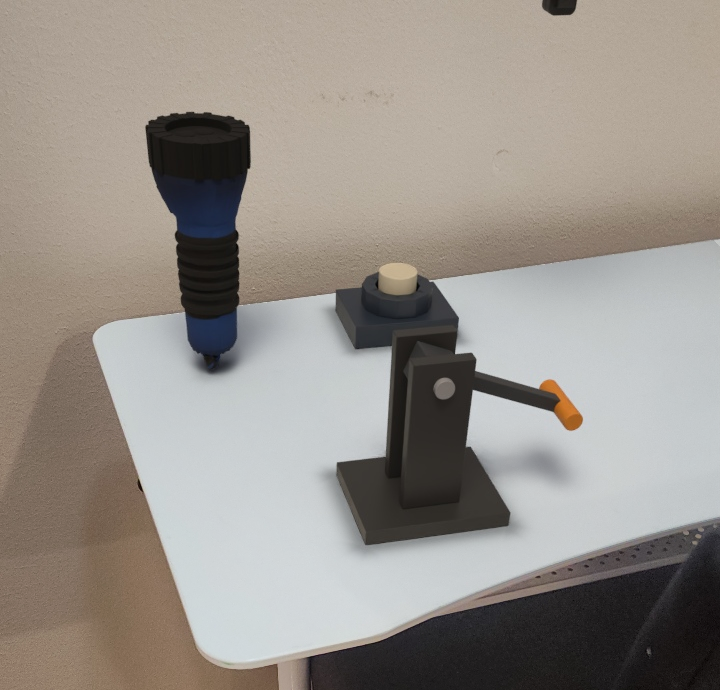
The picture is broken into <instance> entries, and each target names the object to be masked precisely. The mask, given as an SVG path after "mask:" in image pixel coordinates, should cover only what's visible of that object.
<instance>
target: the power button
mask: <svg viewBox="0 0 720 690" xmlns="http://www.w3.org/2000/svg"><path fill="white" fill-rule="evenodd" d="M378 272H379V281H378V289H379V290H380V291H382V292H384V293H386V294H393V295H406V294H411V293H414V292H416V286H417V274H418V269H417V267H414V266H413V265H411V264H408V263H402V262H391V263H386V264H383V265H382V266H380V267H379V269H378Z"/></svg>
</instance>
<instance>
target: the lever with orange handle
mask: <svg viewBox="0 0 720 690" xmlns="http://www.w3.org/2000/svg"><path fill="white" fill-rule="evenodd" d="M451 354H453V352H452V351H450V350H447V349H444V348H440V347H437V346H433V345H430V344H426V343H423V342H420V341H417V342H416V344H415V347H414V349H413V351H412V353H411V355H410V357H409V360H410V358H420V357H431V356H441V355H451ZM409 360H408V362H407V364H406V366H405V368H404V371H403V372H404V373H405V375H406V377H407V379H408V373H409ZM473 391H476V392H479V393H483V394H487V395H490V396H493V397H497V398H501V399H504V400H508V401H511V402H515V403H518V404H522V405H526V406H530V407H534V408H537V409H541V410H543V411H544V410H545V411H547V412H552V413H553V414H554V415H555V417H556V418H557V420H558V421H559V422H560V423H561V425H562V426H563V428H564V429H565V430H566V431H569V432H573V431H577V430H578V429H579V428H580V427H581V426H582V425H583V422H584V417H583V415H582V414H581V412H580V411H579V410H578V408H577V407H576V406H575V404H574V403H573V402H572V401H571V400H570V398H569V397H568V396H567V395H566V393H565V392H564V390H563V389H562V387H561V386H560V385H559V384H558V383H557V382H556V380H554V379H549V378H548V379H546V380H544V381H542V382H541V384H540V385H539V387H538V388H537V387H533V386H530V385H526V384H523V383H519V382H516V381H512V380H509V379H506V378H502V377H498V376H495V375H492V374H488V373H484V372H481V371H477V370H475V377H474V385H473Z"/></svg>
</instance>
